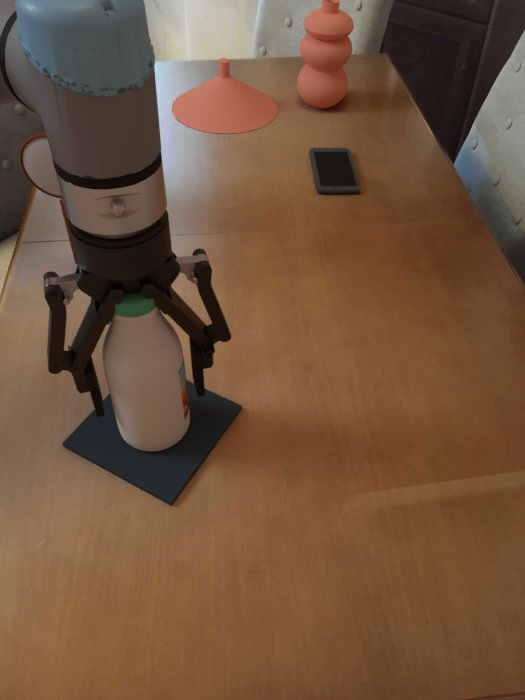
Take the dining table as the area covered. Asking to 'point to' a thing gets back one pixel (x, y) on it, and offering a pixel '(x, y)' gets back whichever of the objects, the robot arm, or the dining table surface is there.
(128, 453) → the mat
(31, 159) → the magnifying glass
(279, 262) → the dining table surface
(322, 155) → the cell phone
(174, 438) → the milk bottle
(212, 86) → the ceramic vessels
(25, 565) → the dining table surface
